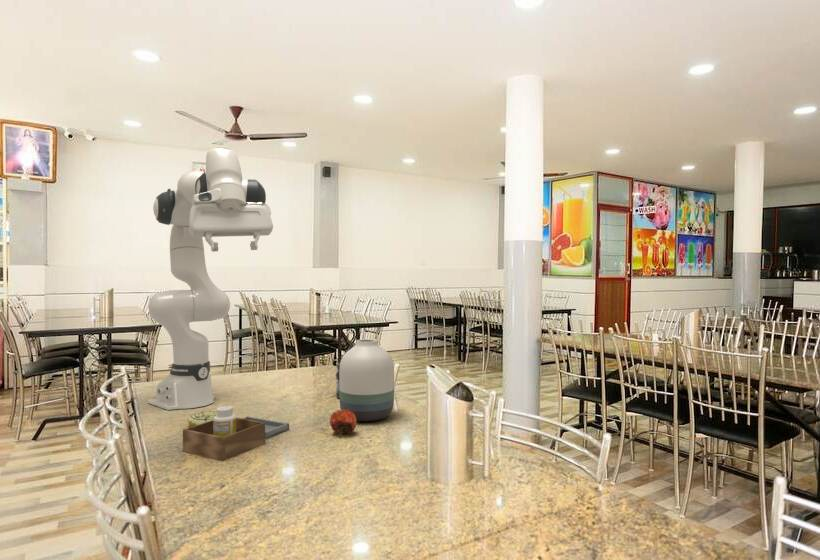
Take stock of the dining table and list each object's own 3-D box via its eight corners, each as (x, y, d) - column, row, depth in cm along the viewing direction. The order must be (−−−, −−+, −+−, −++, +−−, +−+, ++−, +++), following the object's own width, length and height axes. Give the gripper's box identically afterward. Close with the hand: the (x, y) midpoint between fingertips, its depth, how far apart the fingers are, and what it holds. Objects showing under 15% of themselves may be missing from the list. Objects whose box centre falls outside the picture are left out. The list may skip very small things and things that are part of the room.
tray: (221, 431, 147) (221, 425, 147) (247, 422, 156) (247, 416, 156) (264, 440, 139) (264, 433, 139) (289, 429, 148) (289, 423, 148)
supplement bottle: (229, 442, 138) (228, 404, 138) (240, 446, 134) (240, 407, 134) (209, 447, 133) (208, 408, 133) (220, 452, 130) (220, 412, 130)
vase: (401, 412, 166) (401, 338, 166) (381, 428, 150) (381, 345, 150) (353, 408, 172) (353, 335, 171) (329, 422, 156) (329, 342, 155)
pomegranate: (355, 445, 142) (363, 415, 149) (346, 429, 137) (355, 399, 145) (330, 446, 144) (340, 416, 151) (321, 430, 140) (331, 400, 147)
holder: (182, 451, 131) (182, 429, 131) (226, 435, 143) (226, 415, 143) (223, 461, 124) (223, 438, 124) (265, 443, 137) (265, 422, 137)
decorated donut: (202, 434, 145) (202, 421, 145) (180, 427, 151) (180, 414, 151) (234, 425, 154) (233, 412, 153) (212, 419, 160) (212, 406, 160)
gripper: (267, 208, 141) (274, 253, 137) (185, 208, 132) (190, 257, 127) (270, 196, 136) (279, 242, 131) (186, 195, 127) (192, 245, 122)
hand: (235, 249), depth 129 cm, fingers open, 8 cm apart
